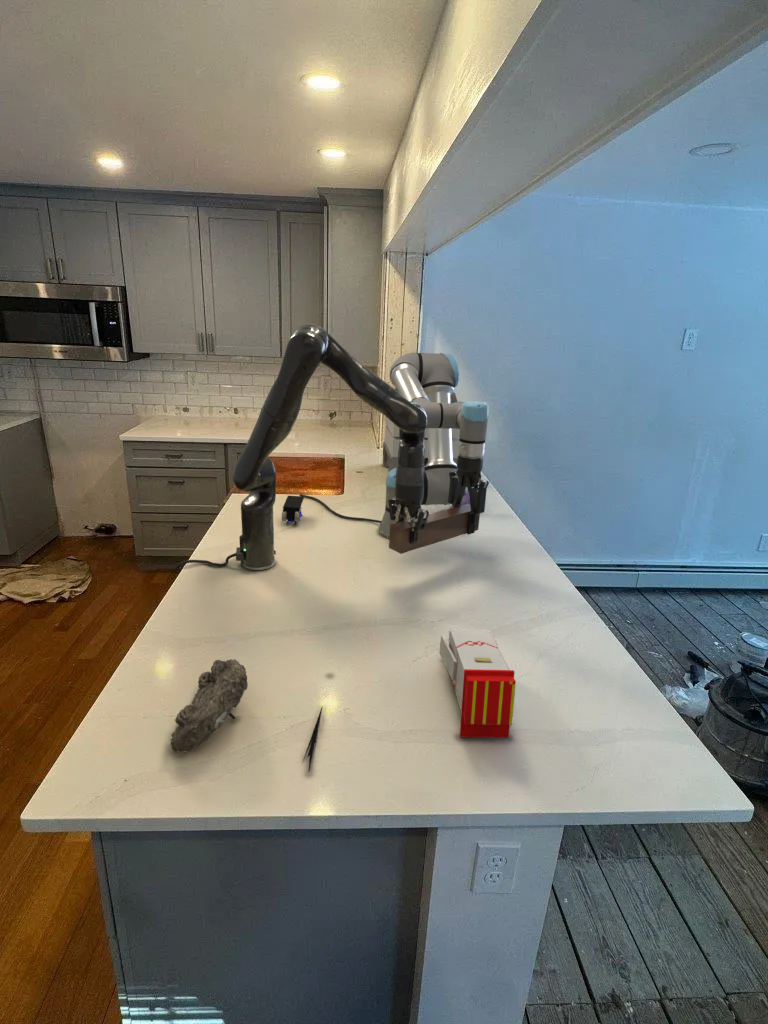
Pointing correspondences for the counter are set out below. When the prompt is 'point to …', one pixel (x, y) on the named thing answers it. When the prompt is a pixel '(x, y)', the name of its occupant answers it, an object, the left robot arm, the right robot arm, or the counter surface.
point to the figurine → (465, 498)
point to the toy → (479, 682)
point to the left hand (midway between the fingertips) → (406, 539)
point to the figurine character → (292, 509)
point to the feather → (313, 740)
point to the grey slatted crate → (393, 442)
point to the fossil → (210, 704)
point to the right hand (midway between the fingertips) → (463, 530)
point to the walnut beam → (431, 529)
